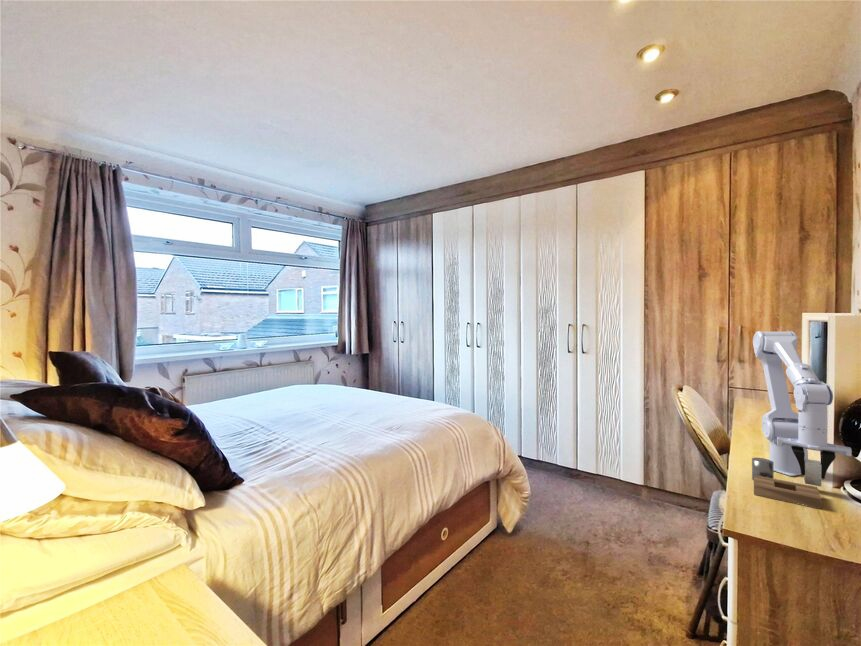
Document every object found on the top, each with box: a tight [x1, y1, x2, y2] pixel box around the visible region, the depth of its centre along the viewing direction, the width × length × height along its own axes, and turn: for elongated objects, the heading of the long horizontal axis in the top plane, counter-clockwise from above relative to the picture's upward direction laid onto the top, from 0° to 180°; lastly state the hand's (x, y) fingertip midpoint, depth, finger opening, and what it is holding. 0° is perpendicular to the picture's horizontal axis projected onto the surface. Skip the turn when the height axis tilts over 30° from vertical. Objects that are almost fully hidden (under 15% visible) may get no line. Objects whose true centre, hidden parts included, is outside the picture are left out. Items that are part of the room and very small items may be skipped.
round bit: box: [751, 457, 775, 481], centre depth 114 cm, size 5×5×6 cm
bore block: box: [753, 475, 823, 510], centre depth 104 cm, size 9×13×2 cm
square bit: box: [803, 458, 822, 487], centre depth 107 cm, size 3×3×6 cm
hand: (812, 475), depth 107 cm, fingers closed on square bit, 3 cm apart
